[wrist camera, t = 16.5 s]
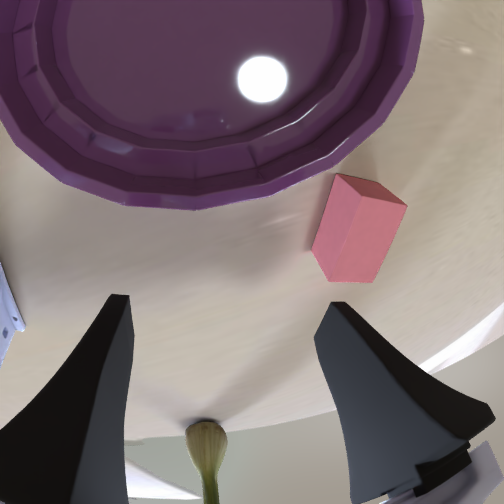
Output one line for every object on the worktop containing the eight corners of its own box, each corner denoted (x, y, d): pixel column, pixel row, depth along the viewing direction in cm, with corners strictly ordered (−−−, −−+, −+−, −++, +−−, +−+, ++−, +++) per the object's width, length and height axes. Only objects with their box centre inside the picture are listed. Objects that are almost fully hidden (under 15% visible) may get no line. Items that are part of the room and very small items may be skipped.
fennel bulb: (195, 413, 28) (206, 514, 18) (234, 418, 30) (250, 511, 20) (177, 429, 30) (185, 516, 20) (213, 434, 32) (224, 516, 22)
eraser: (351, 253, 18) (372, 283, 16) (310, 250, 17) (328, 282, 15) (378, 182, 15) (407, 205, 13) (335, 172, 15) (362, 195, 12)
